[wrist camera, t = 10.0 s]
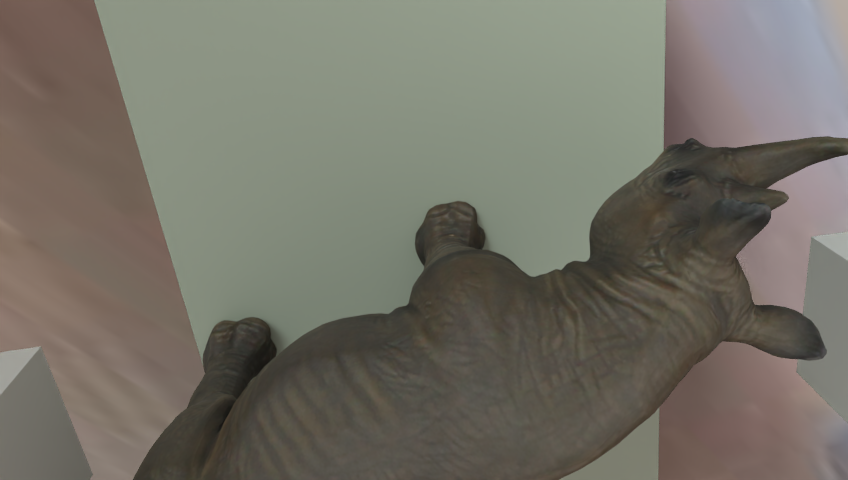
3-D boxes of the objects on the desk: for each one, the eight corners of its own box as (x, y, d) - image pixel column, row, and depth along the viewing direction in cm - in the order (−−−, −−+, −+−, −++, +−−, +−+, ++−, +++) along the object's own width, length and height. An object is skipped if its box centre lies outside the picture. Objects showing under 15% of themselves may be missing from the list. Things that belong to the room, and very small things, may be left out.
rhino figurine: (789, 198, 14) (1055, 357, 9) (243, 490, 16) (176, 772, 11) (720, 20, 13) (989, 73, 7) (126, 366, 15) (-22, 619, 9)
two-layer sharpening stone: (165, -128, 17) (41, -175, 11) (559, -181, 17) (669, -256, 11) (303, 442, 24) (278, 619, 18) (581, 401, 24) (656, 563, 18)
